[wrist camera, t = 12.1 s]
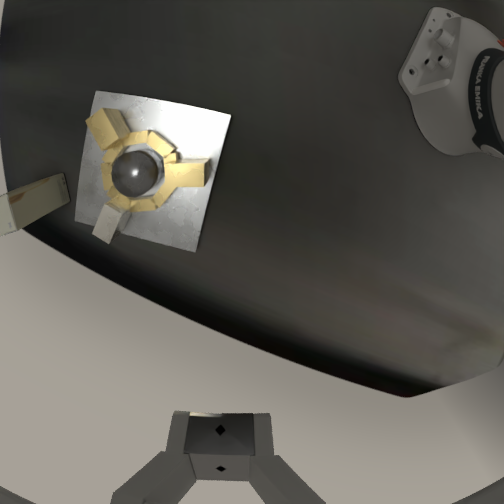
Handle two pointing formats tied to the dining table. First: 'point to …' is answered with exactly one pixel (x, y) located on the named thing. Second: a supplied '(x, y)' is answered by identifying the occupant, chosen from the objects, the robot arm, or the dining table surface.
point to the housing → (154, 167)
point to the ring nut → (115, 142)
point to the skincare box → (31, 202)
